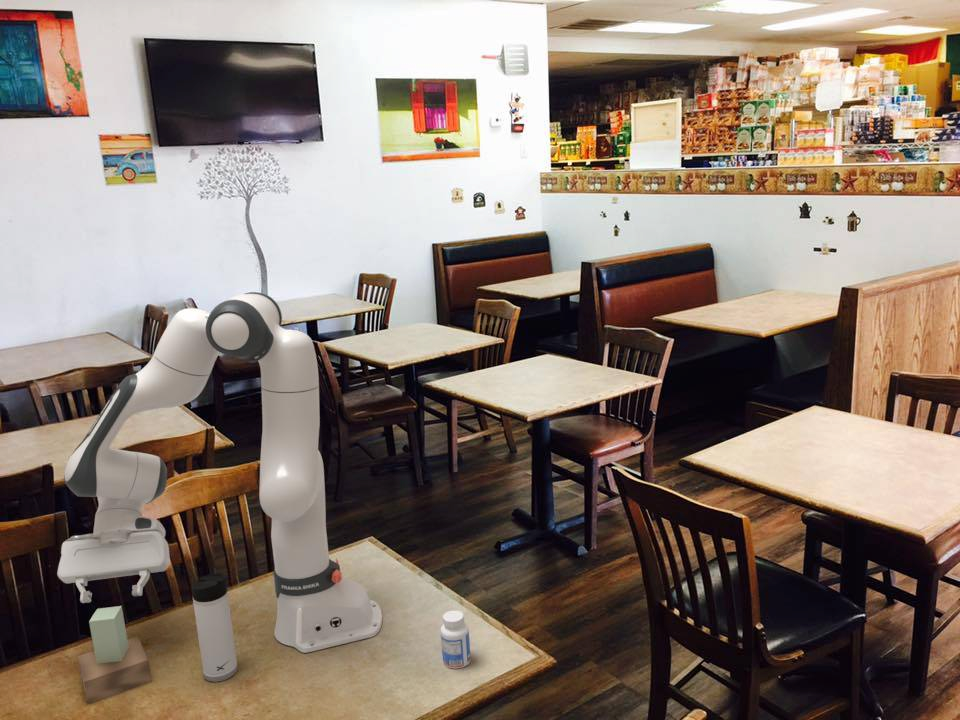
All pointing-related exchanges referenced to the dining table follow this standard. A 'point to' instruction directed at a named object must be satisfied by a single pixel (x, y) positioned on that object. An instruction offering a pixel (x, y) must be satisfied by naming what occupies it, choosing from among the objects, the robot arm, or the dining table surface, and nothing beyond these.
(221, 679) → the travel mug
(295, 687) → the dining table surface
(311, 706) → the dining table surface
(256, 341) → the robot arm
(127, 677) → the walnut block
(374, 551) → the dining table surface
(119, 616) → the sage block
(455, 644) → the pill bottle
